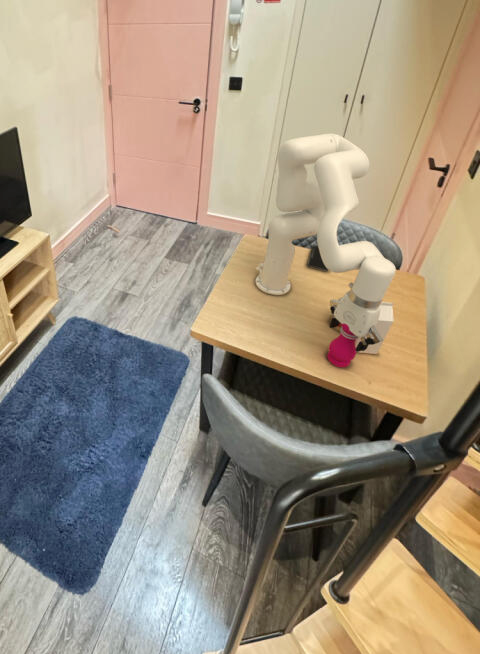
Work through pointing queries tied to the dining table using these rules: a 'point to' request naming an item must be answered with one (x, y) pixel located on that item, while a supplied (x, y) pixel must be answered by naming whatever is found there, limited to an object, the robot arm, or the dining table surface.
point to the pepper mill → (342, 347)
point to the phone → (316, 260)
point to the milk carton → (380, 327)
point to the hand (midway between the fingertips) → (346, 337)
